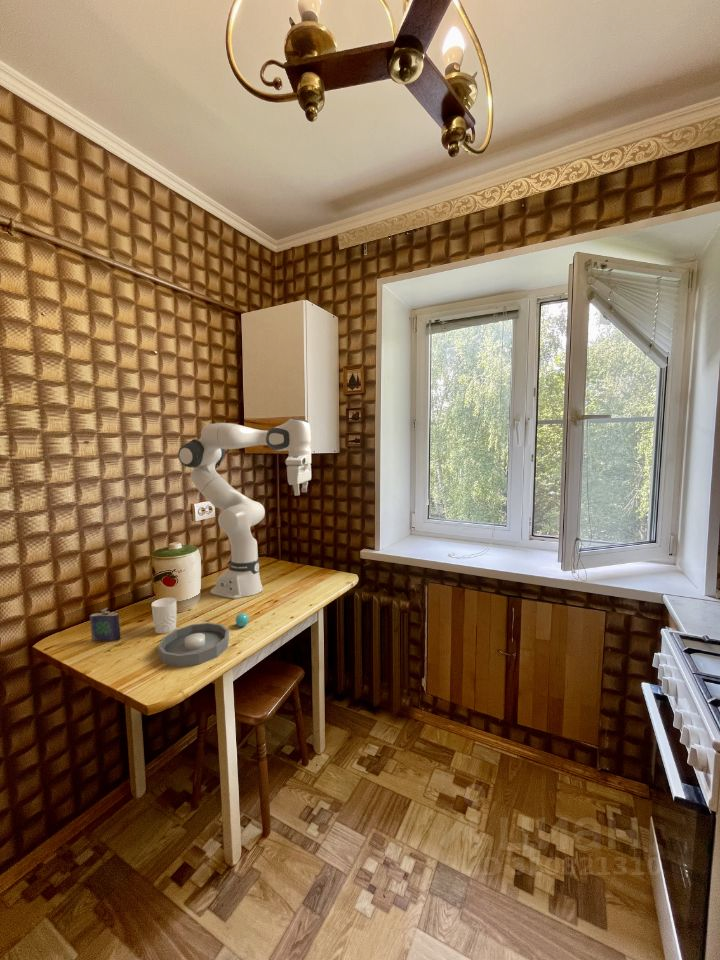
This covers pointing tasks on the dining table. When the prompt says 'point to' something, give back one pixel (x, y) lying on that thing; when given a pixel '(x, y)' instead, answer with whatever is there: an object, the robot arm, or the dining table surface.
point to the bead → (242, 619)
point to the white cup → (164, 615)
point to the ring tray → (193, 644)
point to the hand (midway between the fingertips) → (300, 493)
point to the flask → (105, 626)
